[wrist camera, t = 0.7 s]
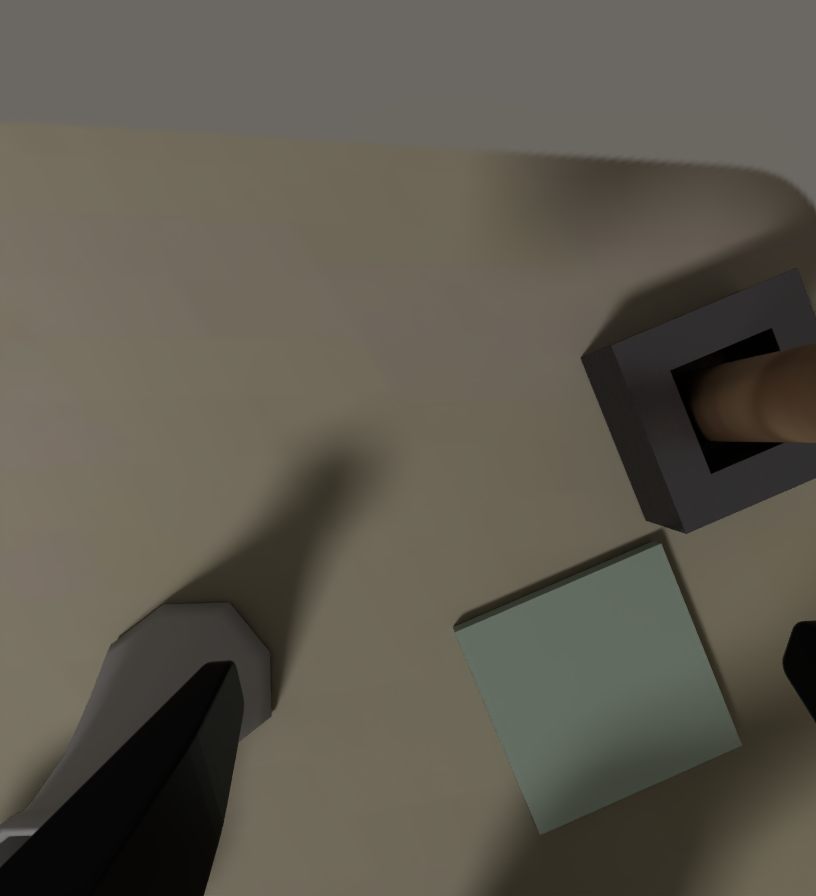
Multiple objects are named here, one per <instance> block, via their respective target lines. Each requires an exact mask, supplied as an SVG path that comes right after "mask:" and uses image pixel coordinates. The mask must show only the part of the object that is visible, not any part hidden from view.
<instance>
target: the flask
mask: <svg viewBox="0 0 816 896" xmlns="http://www.w3.org/2000/svg"><path fill="white" fill-rule="evenodd" d="M225 660H231V661H233V662H234V663H235V664H236V667H237V670H238V675H239V679H240V684H241V688H242V692H243V697H244V714H243V720H242V725H241V731H240V736H239V741H241V740H242V739H243V738H244V737H246V736H247V735H248V734H249V733H251V732H252V731H253V730H255V729H256V728H257V727H258V726H260V725H261V724H262V723H264V722H265V721H266V720H267V719H269V718H270V717H271V674H270V652H269V651H268V650H267V648H266V647H265V646H264V645H263V643H262V642H261V641H260V640H259V638H258V637H257V636H256V635H255V633H254V632H253V631H252V630H251V629H250V627H249V626H248V625H247V624H246V622H245V621H244V620H243V619H242V617H241V616H240V615H239V614H238V612H237V611H236V610H235V609H234V608H233V606H232V605H231V604H230V603H229V602H228V603H193V604H163V605H162V606H160V607H159V608H158V609H156V610H155V611H154V612H153V613H151V614H150V615H149V616H147V617H146V618H145V619H143V620H142V621H141V622H140V623H138V624H137V625H136V626H134V627H133V628H132V629H131V630H129V631H128V632H127V633H125V634H124V635H123V636H122V637H120V638H119V639H118V640H116V641H115V642H114V643H113V644H111V646H110V648H109V650H108V652H107V655H106V657H105V659H104V662H103V665H102V667H101V670H100V673H99V675H98V678H97V681H96V683H95V686H94V689H93V691H92V694H91V697H90V699H89V701H88V704H87V706H86V708H85V710H84V713H83V715H82V717H81V719H80V722H79V724H78V726H77V728H76V731H75V733H74V735H73V737H72V740H71V742H70V744H69V746H68V749H67V751H66V753H65V754H64V756H63V757H62V759H61V760H60V762H59V763H58V765H57V766H56V768H55V769H54V771H53V772H52V773H51V775H50V776H49V778H48V779H47V781H46V782H45V784H44V785H43V787H42V788H41V790H40V791H39V793H38V794H37V795H36V797H35V798H34V800H33V801H32V802H31V803H30V804H29V805H28V806H27V807H26V808H25V809H24V810H23V811H22V812H18V813H16V814H15V815H13V816H12V817H10V818H9V819H7V820H6V821H5V822H4V823H2V824H1V825H0V867H1V866H2V865H3V864H4V863H5V862H6V861H7V860H8V859H9V858H10V857H11V856H12V855H13V854H14V853H15V852H16V851H17V850H18V849H19V848H20V847H21V846H22V845H23V844H24V843H25V842H26V841H27V840H28V839H29V838H30V837H31V836H32V835H33V834H34V833H35V832H36V831H37V830H38V829H39V828H40V827H41V826H42V825H43V824H44V823H45V822H46V821H47V820H48V819H49V818H50V817H51V816H52V815H53V814H54V813H55V812H56V811H57V810H58V809H59V808H60V807H61V806H62V805H63V804H64V803H65V802H66V801H67V800H68V799H69V798H70V797H71V796H72V795H73V794H74V793H75V792H76V791H77V790H78V789H79V788H80V787H81V786H82V785H83V784H84V783H85V782H86V781H87V780H88V779H89V778H90V777H91V776H92V775H93V774H94V773H95V772H96V771H97V770H98V769H99V768H100V767H101V766H102V765H103V764H104V763H105V762H106V761H107V760H108V759H109V758H110V757H111V756H112V755H113V754H114V753H115V752H116V751H117V750H118V749H119V748H120V747H121V746H122V745H123V744H124V743H125V742H126V741H127V740H128V739H129V738H130V737H131V736H132V735H133V734H134V733H135V732H136V731H137V730H138V729H139V728H140V727H141V726H142V725H143V724H145V723H146V722H147V721H148V720H149V719H150V718H151V717H152V716H153V715H154V714H155V713H156V712H157V711H158V710H159V709H160V708H161V707H162V706H163V705H164V704H165V703H166V702H167V701H168V700H169V699H170V698H171V697H172V696H173V695H174V694H175V693H176V692H177V691H178V690H179V689H180V688H181V687H182V686H183V685H184V684H185V683H186V682H187V681H188V680H189V679H190V678H191V677H192V676H193V675H194V674H195V673H196V672H197V671H198V670H199V669H200V668H201V667H202V666H203V665H204V664H206V663H208V662H211V661H225Z"/></svg>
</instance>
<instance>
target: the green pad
mask: <svg viewBox="0 0 816 896" xmlns="http://www.w3.org/2000/svg"><path fill="white" fill-rule="evenodd" d="M453 629H454V632H455V634H456V637H457V639H458V641H459V644H460V646H461V648H462V651H463V653H464V656H465V658H466V660H467V663H468V665H469V667H470V670H471V672H472V675H473V677H474V679H475V682H476V684H477V686H478V689H479V691H480V694H481V696H482V698H483V701H484V703H485V705H486V708H487V710H488V713H489V715H490V717H491V720H492V722H493V724H494V727H495V729H496V732H497V734H498V736H499V739H500V741H501V743H502V746H503V748H504V751H505V753H506V755H507V758H508V760H509V762H510V765H511V767H512V770H513V772H514V774H515V777H516V779H517V781H518V784H519V786H520V789H521V791H522V793H523V796H524V798H525V800H526V803H527V805H528V808H529V810H530V812H531V815H532V817H533V819H534V822H535V824H536V827H537V829H538V831H539V834H540V835H542V834H545V833H547V832H549V831H551V830H554V829H556V828H558V827H560V826H563V825H565V824H567V823H569V822H572V821H574V820H576V819H578V818H581V817H583V816H585V815H587V814H590V813H592V812H594V811H596V810H599V809H601V808H603V807H605V806H608V805H610V804H612V803H614V802H617V801H619V800H621V799H623V798H626V797H628V796H630V795H632V794H635V793H637V792H639V791H641V790H644V789H646V788H648V787H650V786H653V785H655V784H657V783H659V782H662V781H664V780H666V779H668V778H671V777H673V776H675V775H677V774H680V773H682V772H684V771H686V770H689V769H691V768H693V767H695V766H698V765H700V764H702V763H704V762H707V761H709V760H711V759H713V758H716V757H718V756H720V755H722V754H725V753H727V752H729V751H731V750H734V749H736V748H738V747H740V746H742V743H741V741H740V738H739V736H738V733H737V731H736V728H735V726H734V723H733V721H732V718H731V716H730V713H729V711H728V708H727V706H726V704H725V701H724V699H723V696H722V694H721V691H720V689H719V686H718V684H717V681H716V679H715V676H714V674H713V671H712V669H711V666H710V664H709V661H708V659H707V656H706V654H705V651H704V649H703V646H702V644H701V641H700V639H699V636H698V634H697V631H696V629H695V626H694V624H693V621H692V619H691V616H690V614H689V611H688V609H687V606H686V604H685V601H684V599H683V596H682V594H681V591H680V589H679V586H678V584H677V581H676V579H675V576H674V574H673V571H672V569H671V566H670V564H669V561H668V559H667V556H666V554H665V551H664V549H663V546H662V544H661V543H659V542H656V541H652V542H650V543H647V544H645V545H643V546H640V547H638V548H636V549H633V550H631V551H629V552H626V553H624V554H622V555H619V556H617V557H615V558H612V559H610V560H608V561H605V562H603V563H601V564H598V565H596V566H594V567H591V568H589V569H587V570H584V571H582V572H580V573H578V574H575V575H573V576H571V577H568V578H566V579H564V580H561V581H559V582H557V583H554V584H552V585H550V586H547V587H545V588H543V589H540V590H538V591H536V592H533V593H531V594H529V595H526V596H524V597H522V598H519V599H517V600H515V601H512V602H510V603H508V604H506V605H503V606H501V607H499V608H496V609H494V610H492V611H489V612H487V613H485V614H482V615H480V616H478V617H475V618H473V619H471V620H468V621H466V622H464V623H461V624H459V625H457V626H454V627H453Z"/></svg>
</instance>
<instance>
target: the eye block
mask: <svg viewBox="0 0 816 896" xmlns="http://www.w3.org/2000/svg"><path fill="white" fill-rule="evenodd" d="M814 343H816V317H815V314H814V312H813V309H812V306H811V304H810V301H809V298H808V296H807V293H806V291H805V288H804V285H803V283H802V280H801V277H800V275H799V272H798V270H797V268H795V269H792V270H790V271H788V272H785V273H783V274H780V275H778V276H776V277H773V278H771V279H768V280H766V281H764V282H761V283H759V284H756V285H754V286H752V287H749V288H747V289H744V290H742V291H739V292H737V293H735V294H732V295H730V296H728V297H725V298H723V299H720V300H718V301H716V302H713V303H711V304H708V305H706V306H704V307H701V308H699V309H696V310H694V311H692V312H689V313H687V314H685V315H682V316H680V317H677V318H675V319H673V320H670V321H668V322H665V323H663V324H661V325H658V326H656V327H653V328H651V329H649V330H646V331H644V332H642V333H639V334H637V335H634V336H632V337H630V338H627V339H625V340H622V341H620V342H618V343H615V344H613V345H610V346H608V347H606V348H603V349H601V350H599V351H596V352H594V353H591V354H589V355H587V356H584V357H582V358H581V360H582V363H583V365H584V368H585V370H586V373H587V375H588V378H589V380H590V383H591V385H592V388H593V390H594V393H595V395H596V398H597V400H598V403H599V405H600V408H601V410H602V413H603V415H604V418H605V420H606V422H607V425H608V427H609V430H610V432H611V435H612V437H613V440H614V442H615V445H616V447H617V450H618V452H619V455H620V457H621V460H622V462H623V465H624V467H625V470H626V472H627V475H628V477H629V480H630V482H631V485H632V487H633V490H634V492H635V495H636V497H637V500H638V502H639V505H640V507H641V510H642V512H643V515H644V517H645V520H646V521H649V522H652V523H655V524H658V525H661V526H664V527H667V528H670V529H673V530H676V531H679V532H682V533H685V534H687V533H689V532H692V531H694V530H696V529H699V528H701V527H703V526H706V525H708V524H710V523H713V522H715V521H717V520H719V519H722V518H724V517H726V516H729V515H731V514H733V513H736V512H738V511H740V510H743V509H745V508H747V507H750V506H752V505H754V504H757V503H759V502H761V501H764V500H766V499H768V498H771V497H773V496H775V495H778V494H780V493H782V492H784V491H787V490H789V489H791V488H794V487H796V486H798V485H801V484H803V483H805V482H808V481H810V480H812V479H815V478H816V443H796V442H729V443H727V444H725V445H722V446H720V447H718V448H715V449H713V450H711V451H708V452H706V453H704V454H703V453H702V450H701V447H700V445H699V442H698V440H697V437H696V435H695V432H694V430H693V427H692V425H691V422H690V420H689V417H688V415H687V412H686V410H685V407H684V404H683V402H682V399H681V397H680V394H679V392H678V389H677V387H676V384H675V382H674V379H673V377H672V374H671V372H670V370H673V369H675V368H678V367H680V366H682V365H685V364H687V363H689V362H692V361H694V360H697V359H699V358H701V357H704V356H706V355H708V354H711V353H713V352H715V351H718V350H720V349H722V350H723V353H724V355H725V358H726V360H727V363H728V362H732V361H737V360H741V359H746V358H750V357H755V356H759V355H764V354H769V353H773V352H778V351H782V350H787V349H791V348H796V347H800V346H805V345H809V344H814Z"/></svg>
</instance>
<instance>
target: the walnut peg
mask: <svg viewBox="0 0 816 896" xmlns="http://www.w3.org/2000/svg"><path fill="white" fill-rule="evenodd" d="M673 379H674V382H675V384H676V387H677V389H678V392H679V394H680V397H681V399H682V402H683V404H684V407H685V410H686V412H687V415H688V417H689V420H690V422H691V425H692V427H693V430H694V432H695V435H696V437H697V440H698V441H726V442H796V443H816V343H814V344H809V345H805V346H800V347H796V348H791V349H787V350H782V351H778V352H773V353H769V354H764V355H759V356H755V357H750V358H746V359H741V360H737V361H732V362H728V363H723V364H719V365H714V366H709V367H705V368H700V369H696V370H691V371H687V372H683V373H680V374H678V375H676V376H675V377H673Z"/></svg>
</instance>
